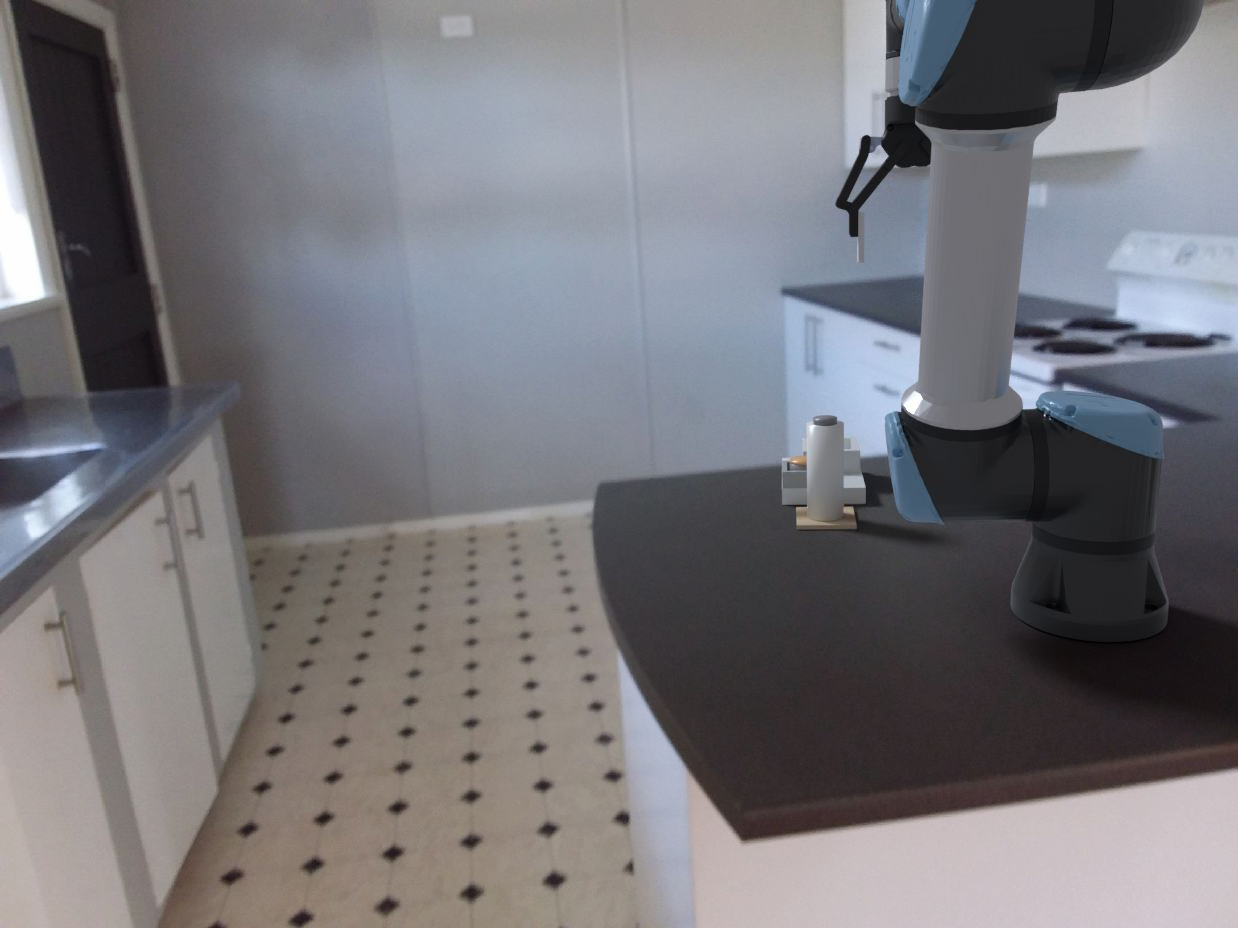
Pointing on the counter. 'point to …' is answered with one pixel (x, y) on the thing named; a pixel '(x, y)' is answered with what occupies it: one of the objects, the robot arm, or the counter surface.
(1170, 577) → the counter surface
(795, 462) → the tan dome
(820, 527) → the coaster
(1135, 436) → the robot arm
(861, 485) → the housing
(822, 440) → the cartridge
